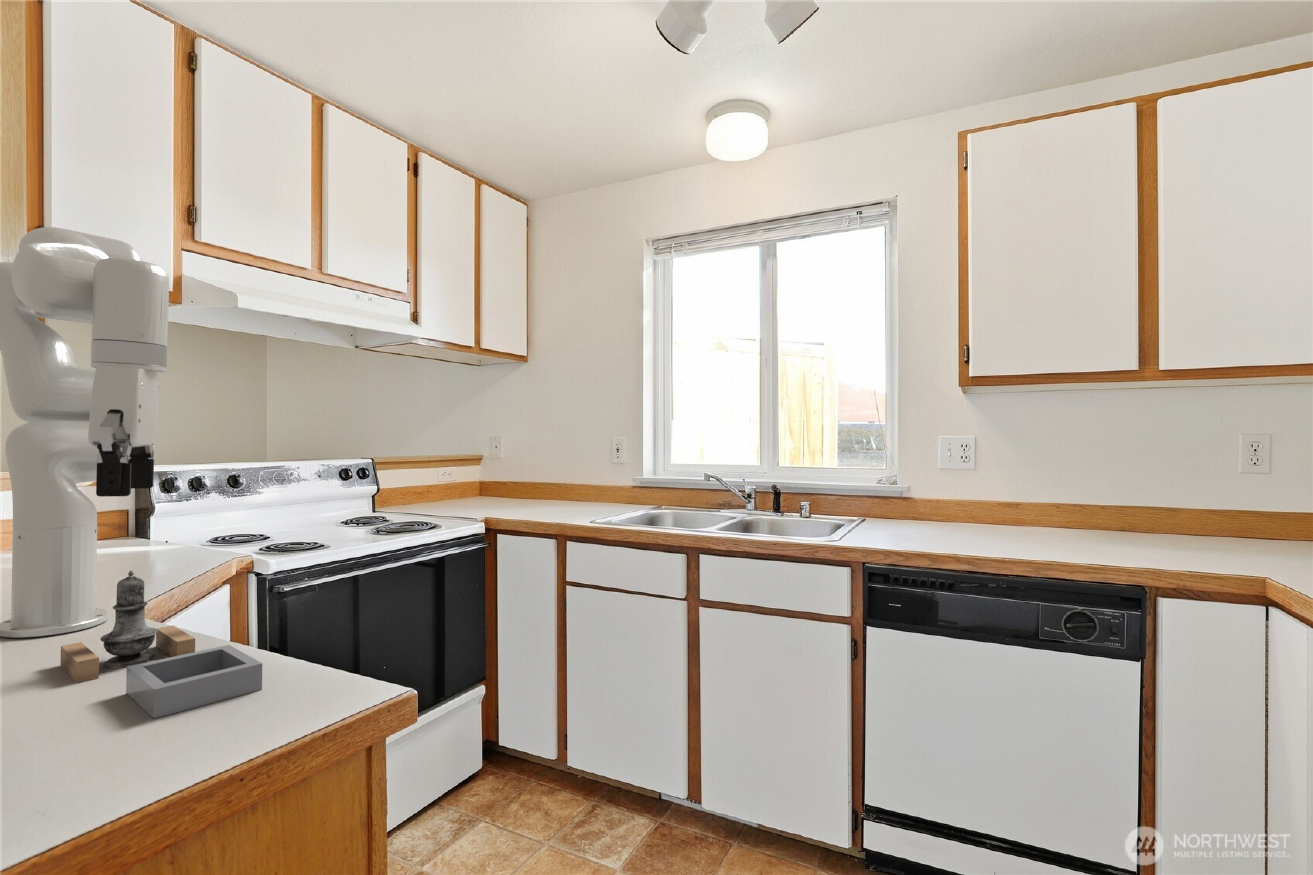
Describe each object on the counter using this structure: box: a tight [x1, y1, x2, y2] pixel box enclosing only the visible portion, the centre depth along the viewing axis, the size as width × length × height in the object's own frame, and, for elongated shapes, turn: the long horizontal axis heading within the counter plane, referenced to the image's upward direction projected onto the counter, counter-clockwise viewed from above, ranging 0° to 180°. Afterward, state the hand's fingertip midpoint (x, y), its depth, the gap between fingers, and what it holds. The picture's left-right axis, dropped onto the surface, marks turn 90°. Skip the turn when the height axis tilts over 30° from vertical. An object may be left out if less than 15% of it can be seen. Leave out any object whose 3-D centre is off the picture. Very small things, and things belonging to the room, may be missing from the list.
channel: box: [60, 625, 196, 683], centre depth 85 cm, size 9×12×2 cm
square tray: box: [125, 644, 263, 719], centre depth 75 cm, size 10×10×3 cm
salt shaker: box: [100, 570, 158, 669], centre depth 85 cm, size 6×6×12 cm
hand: (126, 491), depth 82 cm, fingers open, 9 cm apart
